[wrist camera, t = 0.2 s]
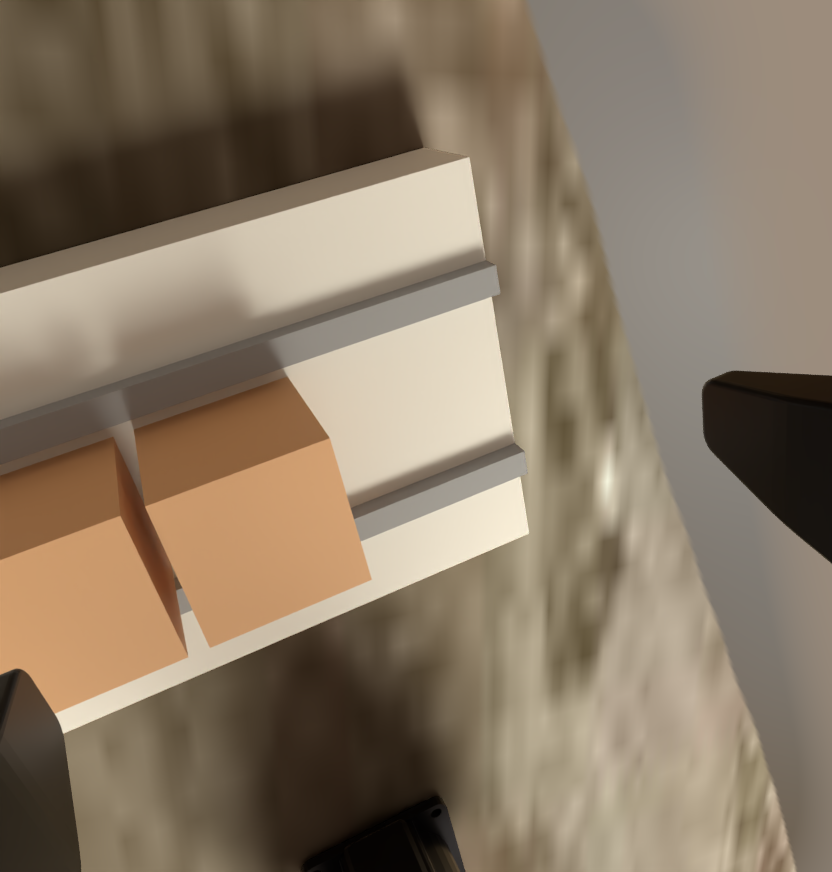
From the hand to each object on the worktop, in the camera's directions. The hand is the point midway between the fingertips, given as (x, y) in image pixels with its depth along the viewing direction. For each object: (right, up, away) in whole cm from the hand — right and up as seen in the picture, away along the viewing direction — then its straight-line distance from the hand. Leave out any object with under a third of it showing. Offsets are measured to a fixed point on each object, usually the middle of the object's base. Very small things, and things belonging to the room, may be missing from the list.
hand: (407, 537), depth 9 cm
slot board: (-7, +1, +13) cm, 15 cm away
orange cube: (-9, -1, +10) cm, 13 cm away
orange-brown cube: (-5, 0, +11) cm, 12 cm away
